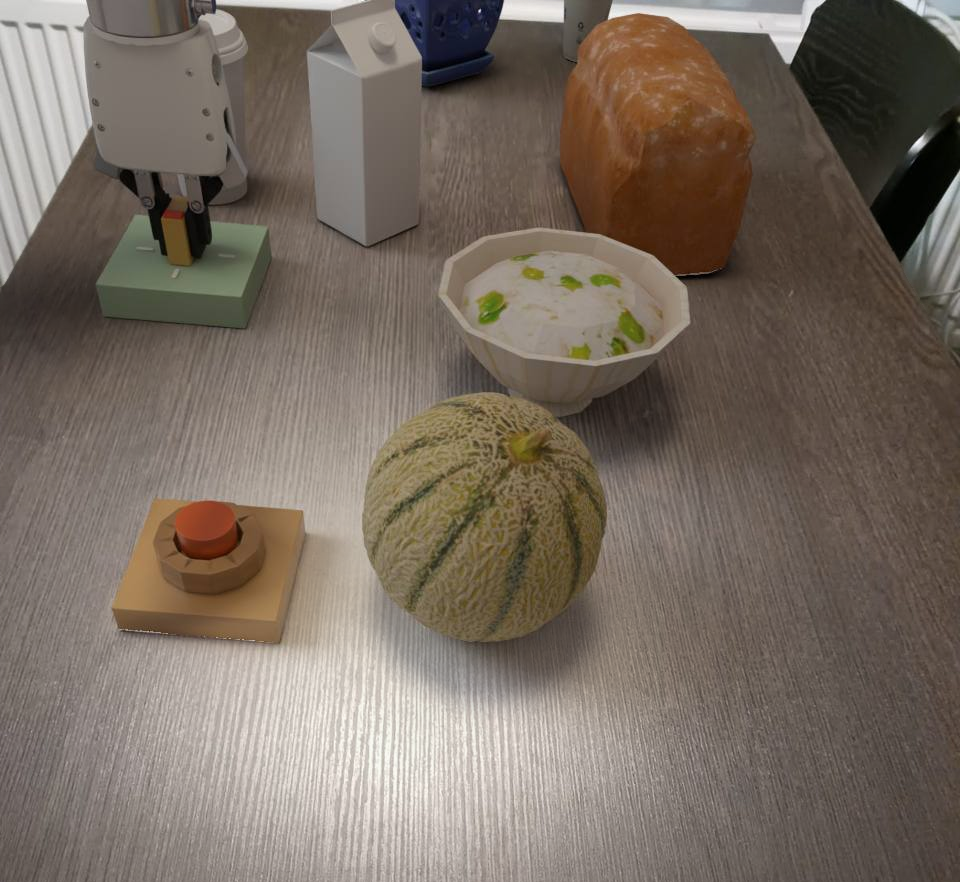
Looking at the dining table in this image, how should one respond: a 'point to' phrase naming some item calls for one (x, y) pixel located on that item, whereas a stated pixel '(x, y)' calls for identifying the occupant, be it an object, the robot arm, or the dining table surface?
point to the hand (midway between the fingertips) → (184, 247)
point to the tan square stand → (213, 577)
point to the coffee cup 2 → (581, 22)
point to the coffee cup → (229, 90)
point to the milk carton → (366, 122)
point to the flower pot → (450, 35)
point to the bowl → (562, 312)
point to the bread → (656, 143)
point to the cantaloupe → (484, 517)
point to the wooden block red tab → (176, 232)
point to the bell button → (206, 530)
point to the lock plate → (186, 277)
